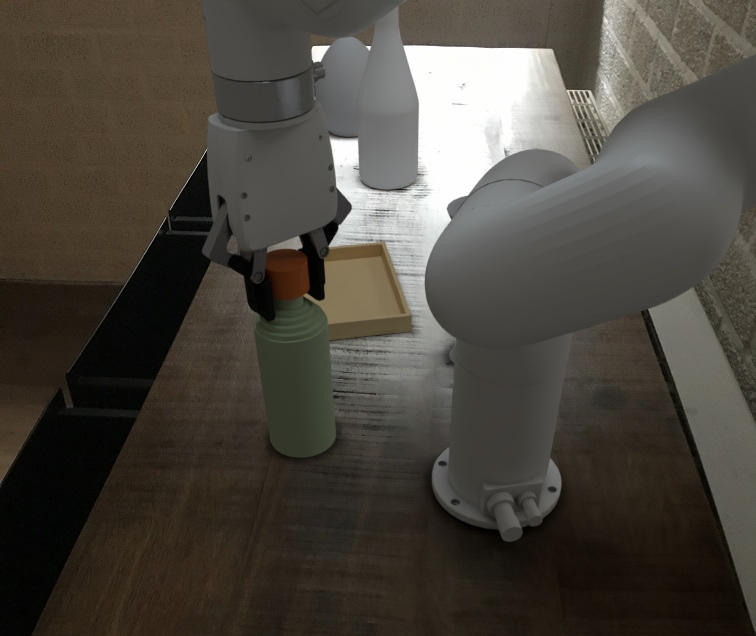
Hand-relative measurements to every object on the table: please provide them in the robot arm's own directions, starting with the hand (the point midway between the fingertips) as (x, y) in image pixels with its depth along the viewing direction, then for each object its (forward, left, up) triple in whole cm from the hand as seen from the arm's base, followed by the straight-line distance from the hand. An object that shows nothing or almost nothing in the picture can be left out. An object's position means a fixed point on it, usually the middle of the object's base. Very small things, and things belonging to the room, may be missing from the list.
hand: (288, 302), depth 73 cm
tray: (+27, -8, -16) cm, 32 cm away
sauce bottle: (0, 0, -16) cm, 16 cm away
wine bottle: (+62, -20, -16) cm, 67 cm away
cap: (0, 0, +1) cm, 1 cm away
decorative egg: (+85, -17, -16) cm, 88 cm away
